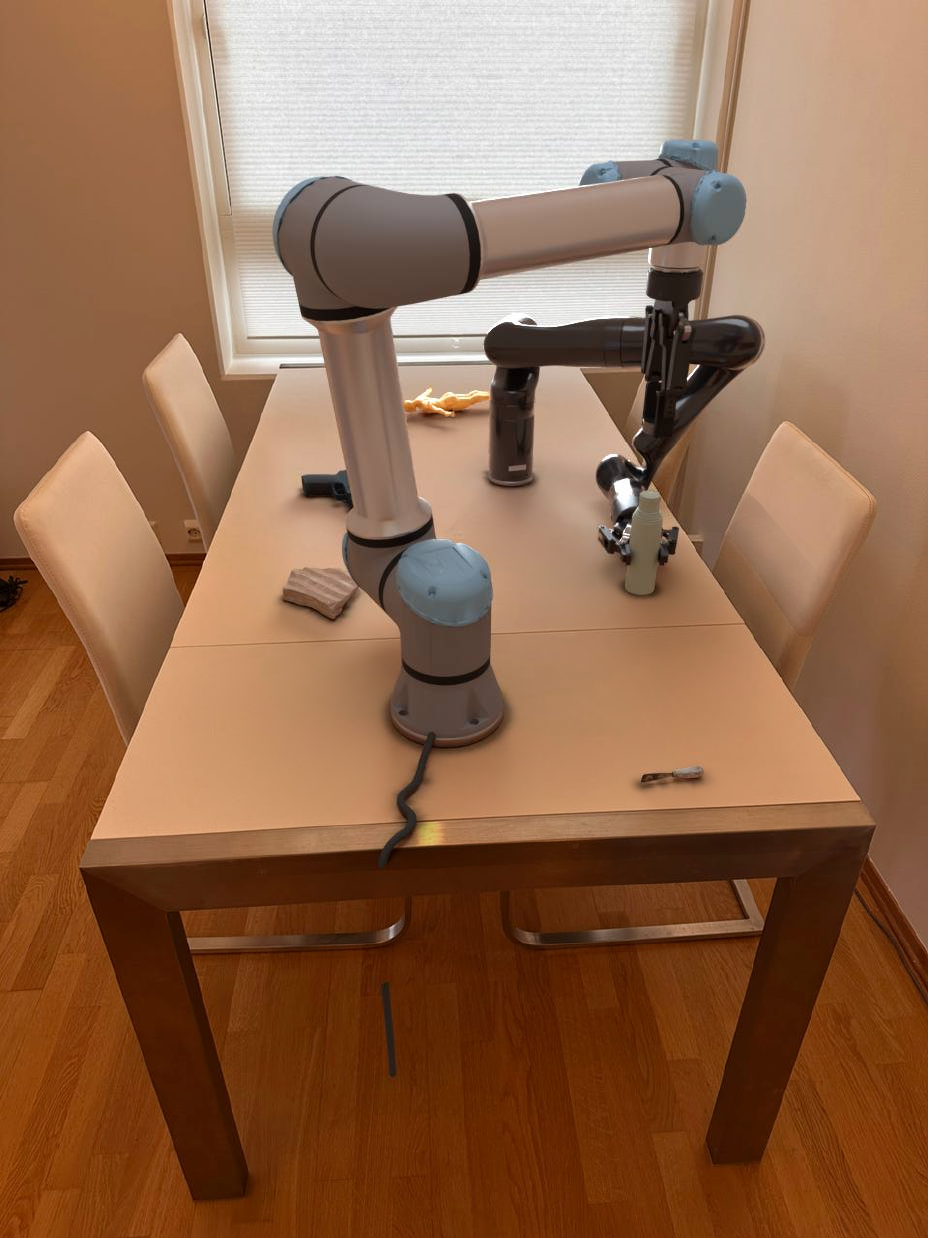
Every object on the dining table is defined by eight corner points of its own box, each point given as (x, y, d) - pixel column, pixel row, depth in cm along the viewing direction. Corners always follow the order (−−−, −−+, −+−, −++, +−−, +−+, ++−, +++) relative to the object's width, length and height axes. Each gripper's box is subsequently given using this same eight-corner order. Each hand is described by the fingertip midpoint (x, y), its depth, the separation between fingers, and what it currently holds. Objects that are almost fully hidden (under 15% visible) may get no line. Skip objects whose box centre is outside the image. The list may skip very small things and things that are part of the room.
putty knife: (703, 777, 109) (705, 767, 109) (642, 788, 108) (644, 777, 107) (700, 772, 110) (702, 762, 109) (639, 782, 109) (640, 771, 108)
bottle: (656, 583, 151) (668, 490, 142) (651, 597, 147) (663, 502, 138) (628, 578, 152) (637, 486, 143) (622, 592, 148) (632, 498, 139)
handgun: (311, 508, 169) (373, 501, 172) (300, 472, 183) (358, 466, 186) (312, 523, 171) (374, 516, 173) (302, 487, 185) (359, 480, 188)
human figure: (395, 413, 223) (394, 398, 221) (438, 390, 237) (438, 375, 235) (462, 429, 215) (462, 413, 213) (502, 404, 229) (503, 388, 227)
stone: (371, 585, 150) (370, 572, 149) (335, 620, 141) (334, 607, 139) (304, 572, 154) (303, 559, 153) (266, 605, 145) (264, 591, 144)
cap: (636, 428, 136) (637, 417, 135) (660, 424, 137) (661, 413, 136) (653, 437, 132) (654, 426, 131) (677, 433, 134) (678, 422, 133)
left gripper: (728, 278, 116) (702, 449, 128) (678, 255, 130) (659, 410, 143) (673, 280, 115) (653, 453, 127) (628, 256, 129) (614, 413, 141)
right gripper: (593, 495, 156) (603, 539, 142) (676, 496, 156) (693, 540, 141) (590, 533, 160) (599, 580, 146) (671, 534, 160) (687, 581, 145)
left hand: (656, 430), depth 135 cm, fingers closed on cap, 4 cm apart
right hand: (645, 560), depth 144 cm, fingers closed on bottle, 5 cm apart
